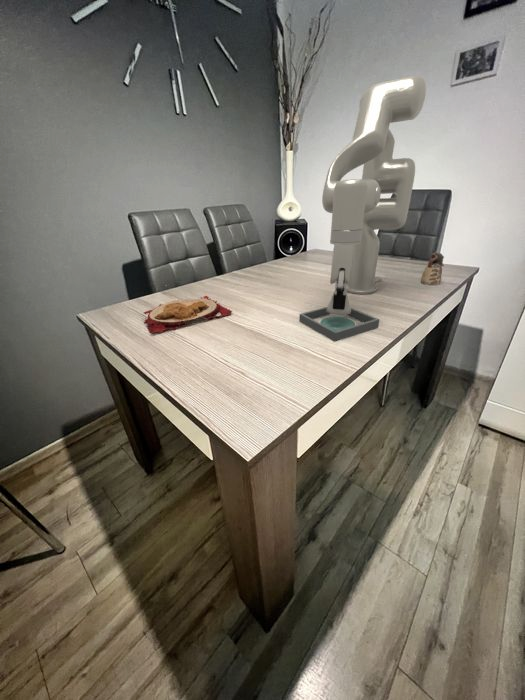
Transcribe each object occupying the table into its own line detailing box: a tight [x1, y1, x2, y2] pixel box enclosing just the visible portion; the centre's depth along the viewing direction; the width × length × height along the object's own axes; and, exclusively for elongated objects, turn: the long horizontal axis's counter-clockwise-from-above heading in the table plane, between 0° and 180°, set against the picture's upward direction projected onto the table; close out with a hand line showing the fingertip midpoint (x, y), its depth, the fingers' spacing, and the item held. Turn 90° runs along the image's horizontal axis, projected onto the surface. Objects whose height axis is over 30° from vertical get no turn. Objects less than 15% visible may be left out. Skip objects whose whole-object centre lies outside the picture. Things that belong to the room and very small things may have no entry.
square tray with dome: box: [298, 306, 380, 342], centre depth 80 cm, size 16×16×2 cm
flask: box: [326, 280, 352, 316], centre depth 76 cm, size 7×7×10 cm
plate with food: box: [143, 295, 233, 334], centre depth 94 cm, size 25×26×4 cm
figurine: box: [420, 252, 445, 286], centre depth 109 cm, size 7×7×12 cm
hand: (339, 305), depth 78 cm, fingers closed on flask, 4 cm apart
